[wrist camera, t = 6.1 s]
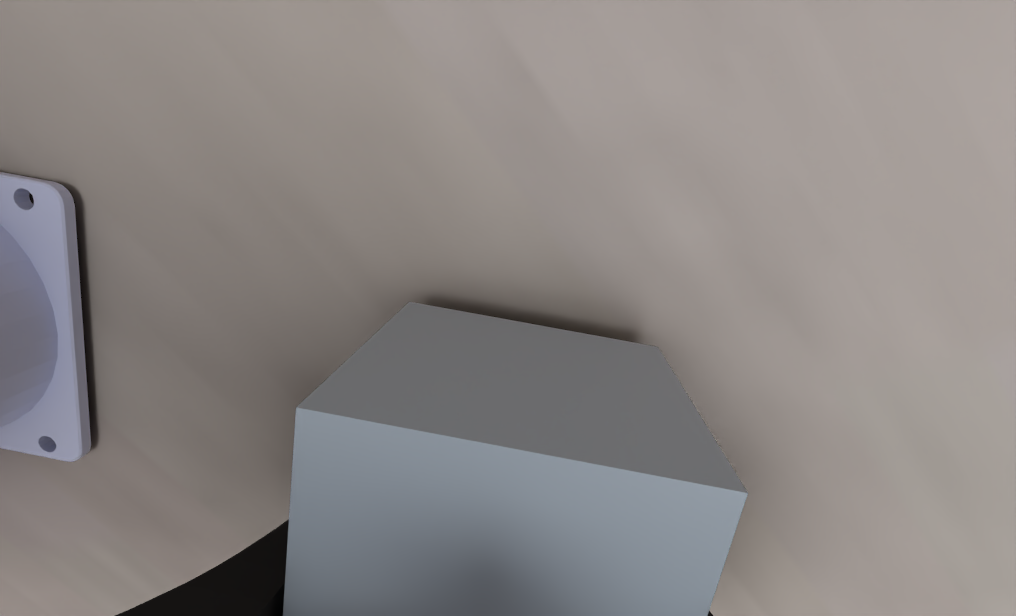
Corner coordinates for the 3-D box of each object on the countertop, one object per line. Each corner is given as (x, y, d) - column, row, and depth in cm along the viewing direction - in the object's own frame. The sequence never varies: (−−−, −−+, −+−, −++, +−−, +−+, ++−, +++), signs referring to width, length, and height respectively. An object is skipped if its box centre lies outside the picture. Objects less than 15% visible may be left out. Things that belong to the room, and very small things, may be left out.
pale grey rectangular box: (372, 611, 14) (266, 875, 9) (409, 301, 12) (295, 407, 7) (578, 653, 14) (596, 947, 9) (657, 346, 12) (747, 493, 7)
